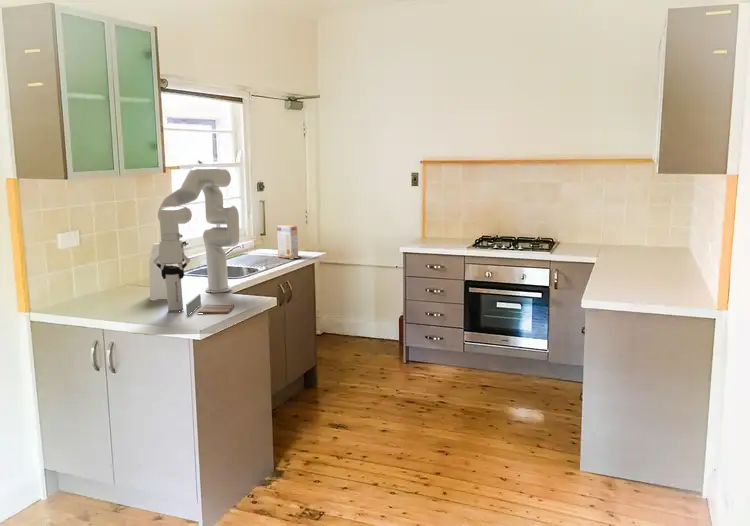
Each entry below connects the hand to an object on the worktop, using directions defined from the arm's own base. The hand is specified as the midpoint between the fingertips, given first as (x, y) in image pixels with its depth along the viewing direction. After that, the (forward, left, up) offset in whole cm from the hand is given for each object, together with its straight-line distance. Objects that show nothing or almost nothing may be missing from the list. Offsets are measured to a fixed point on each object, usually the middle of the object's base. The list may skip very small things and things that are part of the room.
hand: (173, 278), depth 290 cm
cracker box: (-138, +31, -15) cm, 142 cm away
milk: (-29, -14, -15) cm, 36 cm away
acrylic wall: (-1, +8, -15) cm, 17 cm away
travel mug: (0, 0, -15) cm, 15 cm away
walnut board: (0, +18, -15) cm, 23 cm away
